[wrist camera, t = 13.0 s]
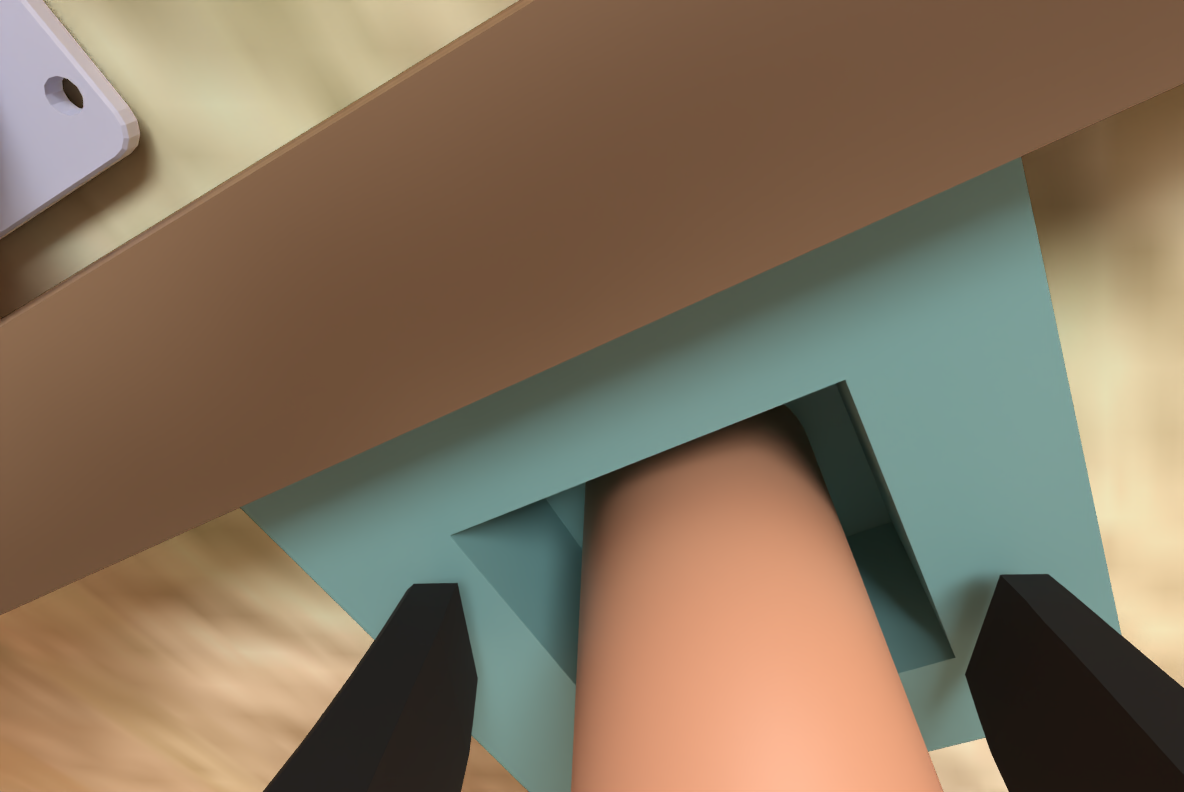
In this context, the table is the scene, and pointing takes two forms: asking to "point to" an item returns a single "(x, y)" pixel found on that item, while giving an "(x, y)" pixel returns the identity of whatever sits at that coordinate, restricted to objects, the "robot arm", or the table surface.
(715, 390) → the sliding block
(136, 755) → the table surface
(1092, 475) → the table surface
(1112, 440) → the table surface
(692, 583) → the dowel
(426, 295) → the backstop wall
